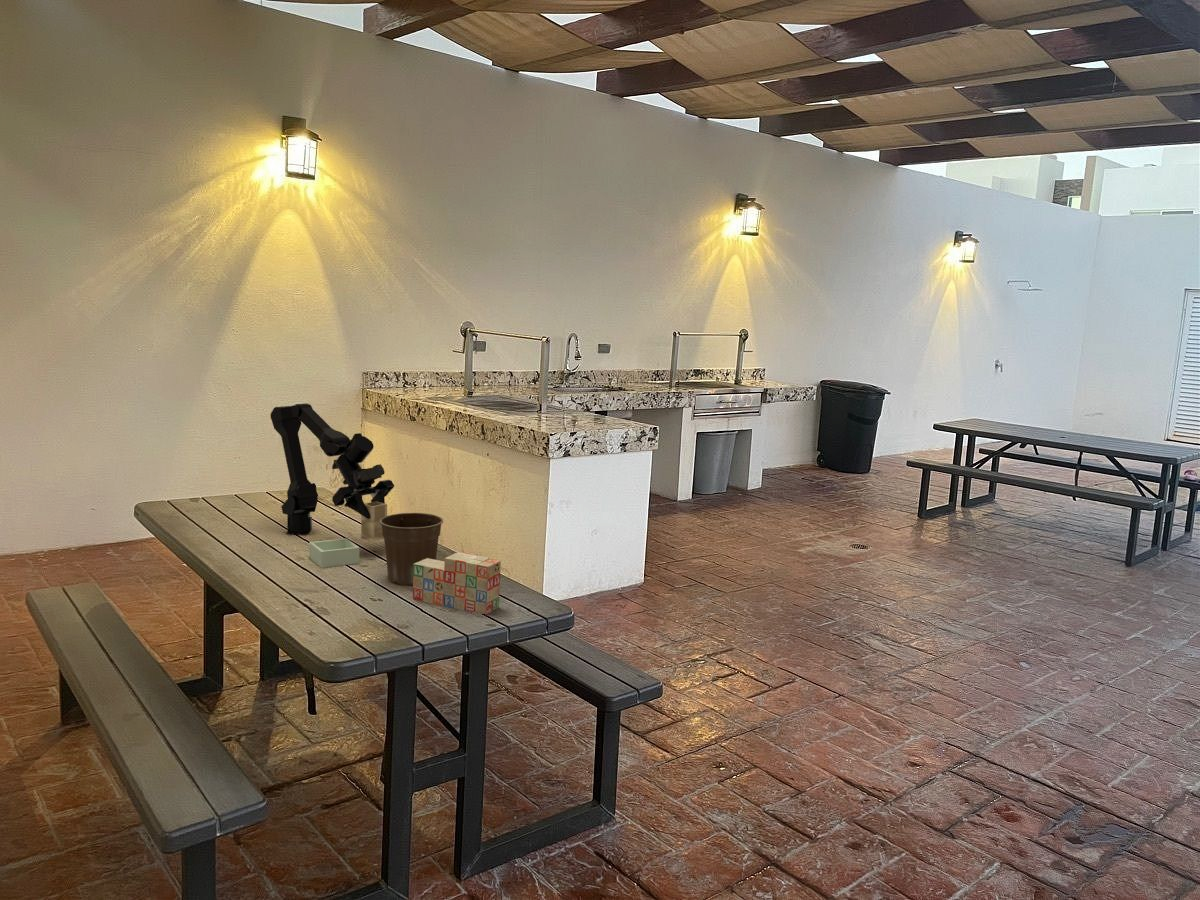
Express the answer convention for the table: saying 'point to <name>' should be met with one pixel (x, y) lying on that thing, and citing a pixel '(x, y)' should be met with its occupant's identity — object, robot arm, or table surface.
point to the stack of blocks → (459, 582)
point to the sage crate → (333, 552)
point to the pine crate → (373, 521)
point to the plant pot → (409, 543)
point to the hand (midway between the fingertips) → (377, 516)
